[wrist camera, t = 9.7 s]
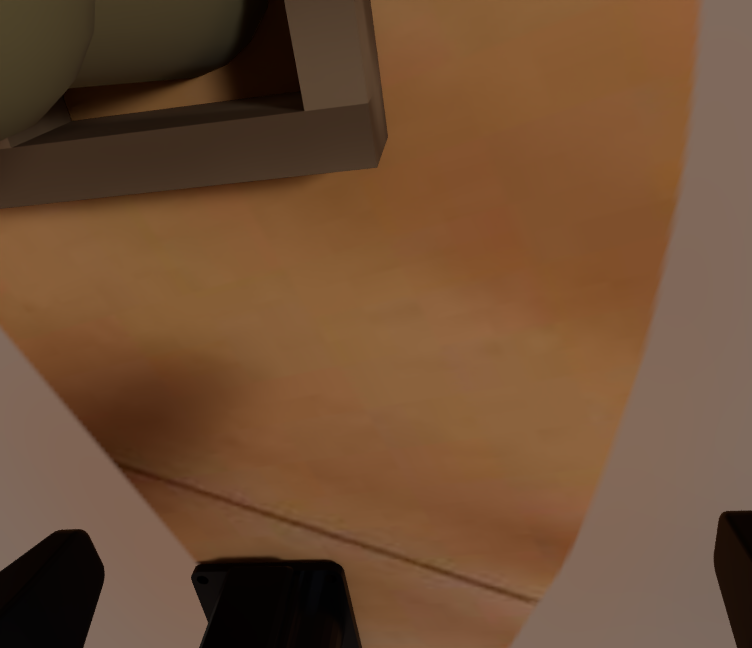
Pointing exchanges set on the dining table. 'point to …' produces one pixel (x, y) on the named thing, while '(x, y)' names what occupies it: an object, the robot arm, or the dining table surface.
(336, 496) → the dining table surface
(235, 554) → the dining table surface
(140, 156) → the hole block
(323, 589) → the robot arm
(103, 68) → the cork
